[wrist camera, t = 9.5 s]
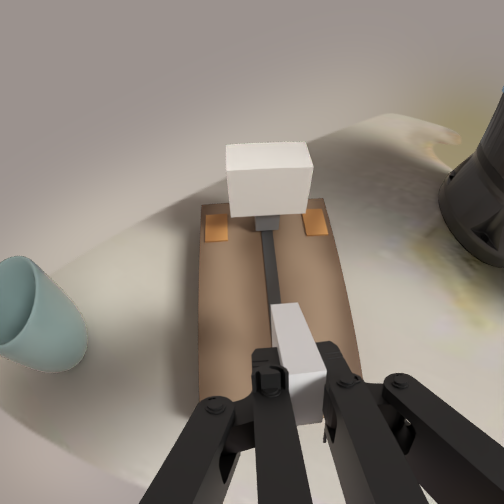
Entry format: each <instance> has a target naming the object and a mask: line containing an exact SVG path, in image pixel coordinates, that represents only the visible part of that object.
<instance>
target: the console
mask: <svg viewBox="0 0 504 504" xmlns="http://www.w3.org/2000/svg"><path fill="white" fill-rule="evenodd" d="M297 302H298V304H299V306H300V309H301V311H302V313H303V316H304V318H305V320H306V323H307V325H308V327H309V330H310V332H311V334H312V337H313V339H314V341H315V342H323V341H332V342H333V343H334V344H336V345H337V346H338V348H339V349H340V351H341V353H342V355H343V358H344V359H345V360H346V362H347V364H348V366H349V368H350V370H351V372H352V373H355V374H357V375H359V376H360V377H361V378H362V379H363V376H362V370H361V364H360V358H359V352H358V346H357V341H356V335H355V330H354V325H353V320H352V315H351V310H350V305H349V300H348V296H347V291H346V286H345V282H344V278H343V273H342V269H341V265H340V260H339V256H338V252H337V248H336V244H335V240H334V236H333V232H332V229H331V225H330V221H329V217H328V214H327V210H326V206H325V203H324V199H323V198H320V199H308V202H307V208H306V213H303V214H282V215H280V219H279V230H266V231H256V227H255V216H247V217H231V213H230V204H229V203H221V204H208V205H202V207H201V228H200V254H199V296H198V367H199V402H200V401H201V400H203V399H205V398H207V397H211V396H223V397H227V398H229V399H230V400H232V402H235V401H238V400H241V399H244V398H245V397H247V396H248V395H249V394H250V393H251V391H252V380H251V374H252V359H251V354H252V353H253V352H254V350H255V349H257V348H270V347H272V328H271V305H273V304H285V303H297ZM323 418H324V415H323Z"/></svg>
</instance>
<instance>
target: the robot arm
mask: <svg viewBox="0 0 504 504" xmlns="http://www.w3.org/2000/svg"><path fill="white" fill-rule="evenodd" d="M502 91H503V94H502V97H501V99H500V101H499V104H498V106H497V108H496V110H495V113H494V115H493V117H492V119H491V121H490V123H489V125H488V127H487V129H486V131H485V133H484V135H483V137H482V139H481V141H480V143H479V145H478V147H477V149H476V151H475V152H474V153H473V154H472V155H471V156H469V157H468V158H467V159H466V160H465V161H463V162H462V163H461V164H460V165H459V166H457V167H456V168H455V169H454V170H453V171H452V172H450V173H449V175H448V176H447V177H446V179H445V181H444V183H443V184H442V186H441V188H440V191H439V205H440V209H441V212H442V215H443V217H444V220H445V221H446V223H447V225H448V227H449V229H450V230H451V232H452V233H453V234H454V236H455V237H456V238H457V240H458V241H459V242H460V243H461V244H462V245H463V246H464V247H465V248H466V249H467V250H468V251H469V252H470V253H471V254H473V255H474V256H475V257H477V258H478V259H480V260H481V261H483V262H485V263H487V264H489V265H492V266H496V267H504V86H503V89H502ZM271 328H272V347H270V348H257V349H255V350H254V352H253V353H252V354H251V359H252V374H251V380H252V391H251V393H250V394H249V395H248V396H247V397H245V398H244V399H241V400H238V401H235V402H232V400H230V399H229V398H227V397H223V396H211V397H207V398H205V399H203V400H201V401H200V402H199V403H198V405H197V406H196V408H195V410H194V412H193V413H192V415H191V417H190V419H189V420H188V422H187V424H186V425H185V427H184V429H183V431H182V432H181V434H180V436H179V437H178V439H177V441H176V443H175V444H174V446H173V448H172V449H171V451H170V453H169V454H168V456H167V458H166V460H165V461H164V463H163V465H162V466H161V468H160V470H159V471H158V473H157V475H156V476H155V478H154V480H153V481H152V483H151V484H150V486H149V488H148V489H147V491H146V493H145V494H144V496H143V498H142V499H141V501H140V503H139V504H223V501H224V498H225V496H226V493H227V490H228V487H229V485H230V482H231V479H232V476H233V474H234V471H235V468H236V465H237V462H238V460H239V457H240V452H241V451H245V450H248V449H251V448H255V453H256V472H257V491H258V504H313V503H312V498H311V493H310V488H309V483H308V479H307V474H306V469H305V464H304V459H303V455H302V450H301V445H300V440H299V435H298V431H297V426H298V425H306V424H313V423H320V422H322V419H323V415H324V418H325V429H324V437H323V443H325V442H326V438H327V440H328V443H329V447H330V450H331V453H332V457H333V460H334V463H335V467H336V470H337V474H338V477H339V480H340V484H341V487H342V491H343V494H344V498H345V501H346V504H429V503H428V501H427V499H426V497H425V495H424V493H423V491H422V489H421V487H420V485H421V486H422V487H423V489H424V490H425V491H426V492H427V493H428V494H429V495H430V496H431V497H432V498H433V499H434V500H435V501H436V502H437V503H438V504H504V447H502V446H501V445H500V444H499V443H497V442H496V441H495V440H493V439H492V438H491V437H490V436H488V435H487V434H486V433H484V432H483V431H482V430H480V429H479V428H478V427H477V426H475V425H474V424H473V423H471V422H470V421H469V420H468V419H466V418H465V417H464V416H462V415H461V414H460V413H459V412H457V411H456V410H455V409H453V408H452V407H451V406H449V405H448V404H447V403H446V402H444V401H443V400H442V399H440V398H439V397H438V396H437V395H435V394H434V393H433V392H431V391H430V390H429V389H428V388H426V387H425V386H424V385H422V384H421V383H420V382H418V381H417V380H416V379H415V378H413V377H412V376H410V375H408V374H404V373H394V374H390V375H389V376H387V377H386V378H385V380H384V383H383V384H373V383H366V382H364V380H363V379H362V378H361V377H360V376H359V375H357V374H355V373H352V372H351V370H350V368H349V366H348V364H347V362H346V360H345V359H344V358H343V355H342V353H341V351H340V349H339V348H338V346H337V345H336V344H334V343H333V342H332V341H323V342H315V341H314V339H313V337H312V334H311V332H310V330H309V327H308V325H307V323H306V320H305V318H304V316H303V313H302V311H301V309H300V306H299V304H298V302H297V303H285V304H273V305H271ZM406 419H407V420H408V421H409V422H410V423H409V422H408V421H407V420H406ZM419 484H420V485H419Z"/></svg>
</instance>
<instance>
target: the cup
mask: <svg viewBox="0 0 504 504" xmlns="http://www.w3.org/2000/svg"><path fill="white" fill-rule="evenodd" d="M87 345H88V334H87V327H86V323H85V321H84V318H83V316H82V314H81V312H80V310H79V309H78V307H77V306H76V305H75V303H74V302H73V301H72V299H71V298H70V297H69V296H68V295H67V294H66V293H65V292H64V291H63V290H62V289H61V288H60V287H59V286H58V285H57V284H56V283H55V282H54V281H53V280H52V279H51V278H50V277H49V276H48V275H47V274H46V273H44V271H42V270H41V268H40V267H39V266H37V265H36V264H35V263H34V262H33V261H32V260H30V259H29V258H26V257H24V256H14V257H10V258H8V259H5V260H3V261H2V262H0V356H2V357H4V358H6V359H8V360H10V361H12V362H14V363H17V364H19V365H22V366H24V367H27V368H30V369H33V370H36V371H39V372H44V373H60V372H65V371H68V370H70V369H72V368H73V367H75V366H76V365H77V364H78V363H79V362H80V361H81V360H82V358H83V357H84V355H85V352H86V349H87Z"/></svg>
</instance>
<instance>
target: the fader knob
mask: <svg viewBox="0 0 504 504" xmlns="http://www.w3.org/2000/svg"><path fill="white" fill-rule="evenodd" d="M313 168H314V167H313V163H312V160H311V157H310V154H309V151H308V148H307V145H306V142H267V143H266V142H265V143H246V144H245V143H244V144H229V145H226V176H227V186H228V195H229V204H230V213H231V217H247V216H255V227H256V231H266V230H279V219H280V215H282V214H303V213H306V208H307V202H308V197H309V191H310V186H311V180H312V174H313Z"/></svg>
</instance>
